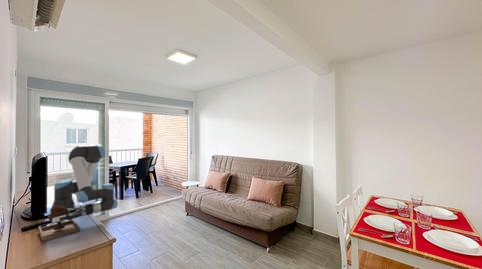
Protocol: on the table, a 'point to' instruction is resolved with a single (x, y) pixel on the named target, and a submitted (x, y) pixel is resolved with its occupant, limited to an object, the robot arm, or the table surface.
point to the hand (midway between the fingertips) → (50, 217)
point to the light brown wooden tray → (50, 233)
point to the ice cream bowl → (57, 212)
